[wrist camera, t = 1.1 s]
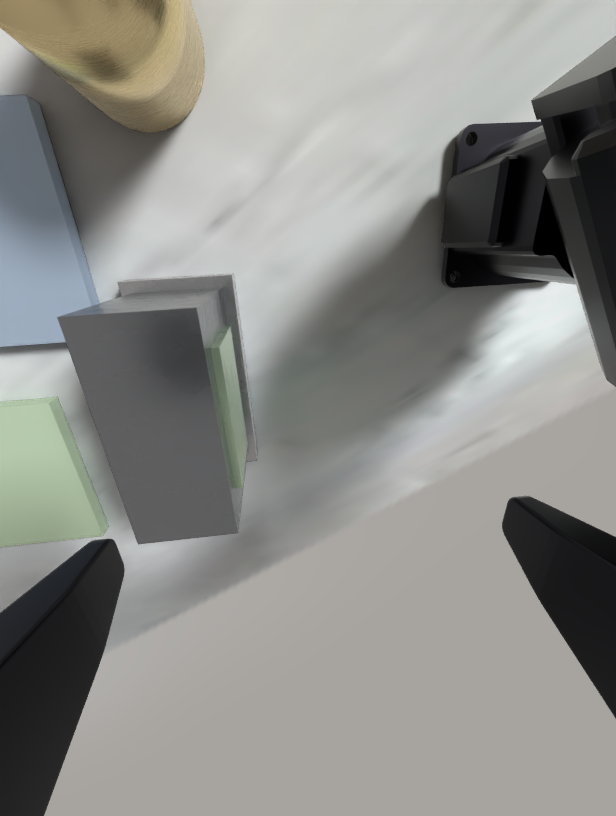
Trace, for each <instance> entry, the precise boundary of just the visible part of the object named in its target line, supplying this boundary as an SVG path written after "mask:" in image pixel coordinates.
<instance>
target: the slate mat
mask: <svg viewBox="0 0 616 816" xmlns="http://www.w3.org/2000/svg"><path fill="white" fill-rule="evenodd" d="M97 304H99V301H98V297H97V294H96V291H95V287H94V284H93V281H92V277H91V274H90V271H89V267H88V264H87V261H86V257H85V254H84V251H83V247H82V244H81V241H80V237H79V234H78V231H77V227H76V224H75V221H74V217H73V214H72V211H71V207H70V204H69V201H68V197H67V194H66V191H65V187H64V184H63V181H62V177H61V174H60V171H59V167H58V164H57V161H56V157H55V154H54V151H53V147H52V144H51V141H50V137H49V134H48V131H47V127H46V124H45V121H44V117H43V114H42V111H41V107H40V104H39V103H38V102H36V101H35V100H33V99H32V98H30V97H28V96H27V95H1V96H0V347H5V346H19V345H33V344H46V343H60V342H66V341H65V338H64V335H63V333H62V330H61V327H60V324H59V321H58V319H57V317H59V316H62V315H65V314H68V313H71V312H75V311H78V310H81V309H84V308H87V307H90V306H93V305H97Z"/></svg>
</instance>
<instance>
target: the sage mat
mask: <svg viewBox="0 0 616 816" xmlns="http://www.w3.org/2000/svg"><path fill="white" fill-rule="evenodd" d="M108 527H109V526H108V524H107V521H106V519H105V516H104V514H103V511H102V509H101V506H100V504H99V501H98V499H97V496H96V493H95V491H94V488H93V486H92V483H91V481H90V478H89V476H88V473H87V471H86V468H85V466H84V463H83V461H82V458H81V456H80V453H79V450H78V448H77V445H76V443H75V440H74V438H73V435H72V433H71V430H70V428H69V425H68V423H67V420H66V418H65V415H64V412H63V410H62V407H61V405H60V402H59V400H58V397H53V398H41V399H29V400H17V401H5V402H0V547H7V546H16V545H25V544H34V543H43V542H52V541H61V540H71V539H80V538H89V537H98V536H103V535H104V533H105V532H106V530H107V528H108Z"/></svg>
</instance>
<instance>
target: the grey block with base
mask: <svg viewBox="0 0 616 816" xmlns="http://www.w3.org/2000/svg"><path fill="white" fill-rule="evenodd" d="M118 286H119V289H120V293H121V297H119V298H115V299H112V300H109V301H106V302H103V303H100V304H97V305H93V306H90V307H87V308H84V309H81V310H78V311H75V312H71V313H68V314H65V315H62V316H59V317H57V319H58V321H59V324H60V327H61V330H62V333H63V335H64V338H65V341H66V344H67V347H68V349H69V352H70V355H71V358H72V361H73V363H74V366H75V369H76V372H77V375H78V377H79V380H80V383H81V386H82V389H83V391H84V394H85V397H86V400H87V403H88V405H89V408H90V411H91V414H92V417H93V419H94V422H95V425H96V428H97V431H98V433H99V436H100V439H101V442H102V445H103V447H104V450H105V453H106V456H107V459H108V461H109V464H110V467H111V470H112V473H113V475H114V478H115V481H116V484H117V487H118V489H119V492H120V495H121V498H122V501H123V503H124V506H125V509H126V512H127V515H128V517H129V520H130V523H131V526H132V529H133V531H134V534H135V537H136V540H137V543H138V544H145V543H154V542H163V541H172V540H181V539H190V538H199V537H208V536H217V535H226V534H235V533H238V530H239V522H240V513H241V504H242V496H243V487H244V478H245V470H246V462H248V461H257V455H258V450H257V442H256V435H255V427H254V420H253V413H252V405H251V398H250V390H249V383H248V375H247V368H246V360H245V353H244V346H243V338H242V331H241V323H240V316H239V308H238V301H237V293H236V286H235V279H234V274H219V275H203V276H187V277H170V278H154V279H138V280H125V281H120V282H118Z"/></svg>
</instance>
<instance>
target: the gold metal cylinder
mask: <svg viewBox="0 0 616 816" xmlns="http://www.w3.org/2000/svg"><path fill="white" fill-rule="evenodd" d="M0 28H1V29H3V30H4V31H5V32H6V33H7V34H9V35H10V36H11V37H12V38H14V39H15V40H16V41H17V42H18V43H20V44H21V45H22V46H23V47H24V48H26V49H27V50H28V51H29V52H31V53H32V54H33V55H34V56H35V57H37V58H38V59H39V60H40V61H42V62H43V63H44V64H45V65H46V66H48V67H49V68H50V69H51V70H53V71H54V72H55V73H56V74H57V75H59V76H60V77H61V78H62V79H64V80H65V81H66V82H67V83H68V84H70V85H71V86H72V87H73V88H75V89H76V90H77V91H78V92H79V93H81V94H82V95H83V96H84V97H86V98H87V99H88V100H89V101H90V102H92V103H93V104H94V105H95V106H96V107H98V108H99V109H100V110H101V111H103V112H104V113H105V114H106V115H107V116H109V117H110V118H111V119H113V120H114V121H116V122H117V123H119V124H121V125H123V126H125V127H127V128H130V129H133V130H136V131H141V132H160V131H164V130H167V129H170V128H172V127H174V126H176V125H177V124H179V123H180V122H181V121H183V120H184V119H185V118H186V117H187V116H188V114H189V113H190V112H191V110H192V109H193V107H194V106H195V104H196V102H197V100H198V97H199V95H200V92H201V88H202V84H203V79H204V70H205V58H204V47H203V42H202V36H201V33H200V29H199V26H198V23H197V19H196V16H195V13H194V10H193V7H192V4H191V1H190V0H0Z"/></svg>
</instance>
